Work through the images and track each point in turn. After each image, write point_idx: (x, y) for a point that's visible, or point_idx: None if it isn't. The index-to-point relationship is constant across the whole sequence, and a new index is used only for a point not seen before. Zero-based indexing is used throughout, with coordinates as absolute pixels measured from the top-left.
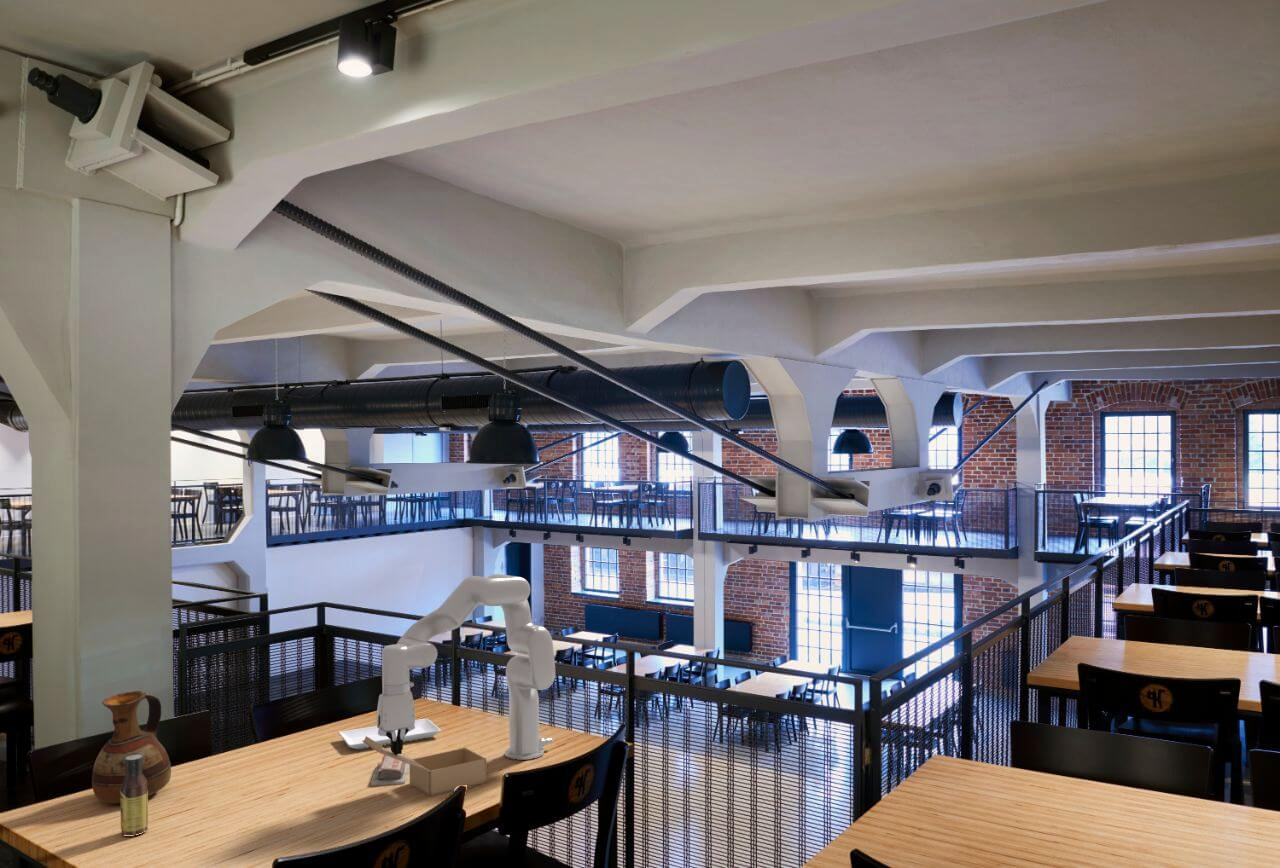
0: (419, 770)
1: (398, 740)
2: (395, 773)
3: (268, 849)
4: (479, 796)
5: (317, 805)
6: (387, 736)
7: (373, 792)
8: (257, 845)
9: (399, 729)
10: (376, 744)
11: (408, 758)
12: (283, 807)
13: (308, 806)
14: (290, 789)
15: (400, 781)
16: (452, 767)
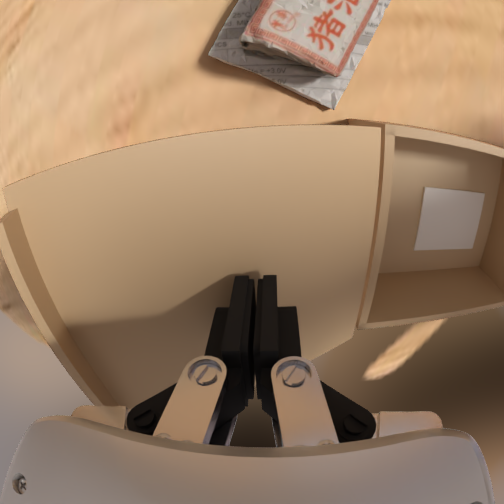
0: None
1: (257, 396)
2: (313, 67)
3: (23, 317)
4: (414, 331)
5: (48, 160)
6: (162, 401)
7: (199, 128)
8: (8, 296)
9: (296, 440)
10: (97, 403)
11: (357, 203)
12: (2, 139)
13: (34, 157)
14: (31, 18)
15: (319, 101)
16: (434, 317)
